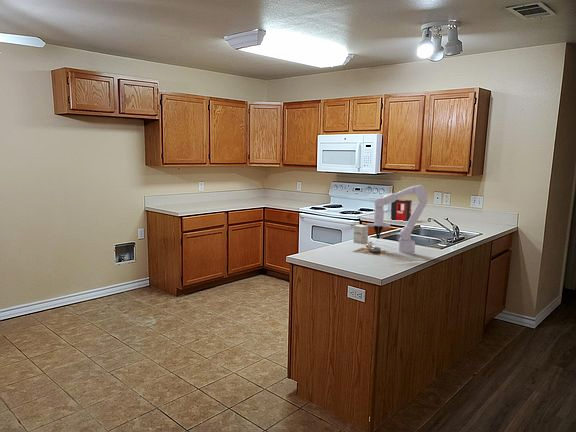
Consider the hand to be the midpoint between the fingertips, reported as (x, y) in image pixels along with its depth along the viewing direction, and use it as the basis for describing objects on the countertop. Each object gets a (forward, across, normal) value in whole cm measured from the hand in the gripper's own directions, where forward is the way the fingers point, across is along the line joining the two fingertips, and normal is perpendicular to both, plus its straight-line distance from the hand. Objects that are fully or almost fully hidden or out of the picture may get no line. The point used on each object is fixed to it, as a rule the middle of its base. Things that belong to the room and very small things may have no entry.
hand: (378, 238), depth 277 cm
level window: (+8, -10, -3) cm, 13 cm away
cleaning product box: (+9, +13, +138) cm, 139 cm away
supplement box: (+9, -13, +25) cm, 30 cm away
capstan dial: (+7, -3, -3) cm, 9 cm away
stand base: (+9, -4, -5) cm, 11 cm away
